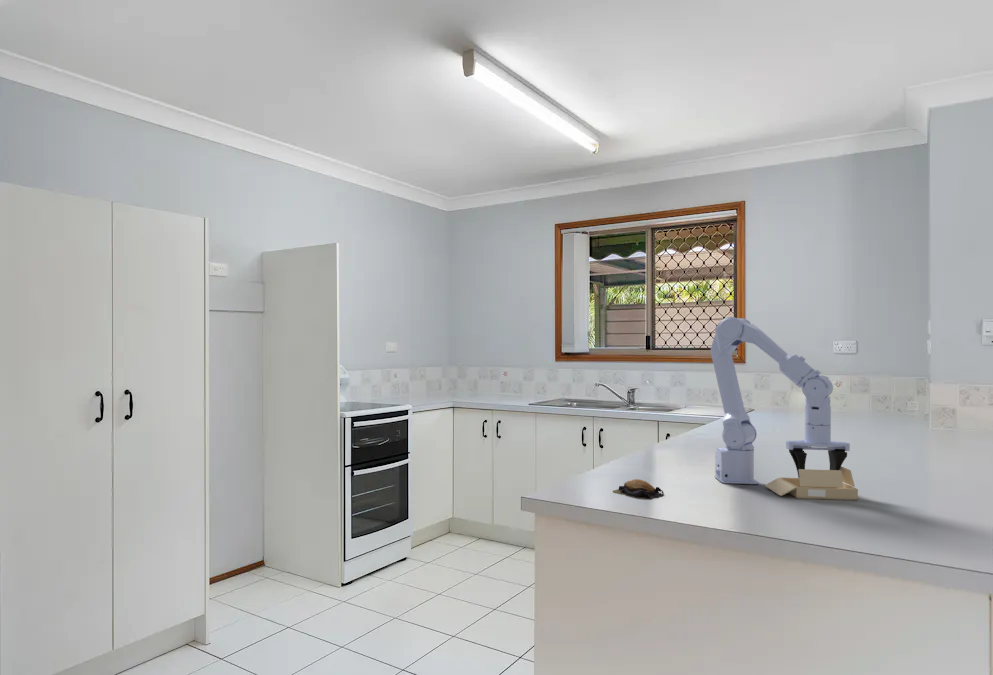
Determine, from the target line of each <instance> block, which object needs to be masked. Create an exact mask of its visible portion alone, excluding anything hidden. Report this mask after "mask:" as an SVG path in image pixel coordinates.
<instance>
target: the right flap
mask: <svg viewBox="0 0 993 675" xmlns="http://www.w3.org/2000/svg"><path fill="white" fill-rule="evenodd" d="M840 470H841V473H842V481H843V483H845V484H847V485H850V486H852V487H854V488H856V484H855V482H854V479H853V473H852V470H851V469H849V468H846V467H845V466H844V467H843V466H841V467H840Z"/></svg>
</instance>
